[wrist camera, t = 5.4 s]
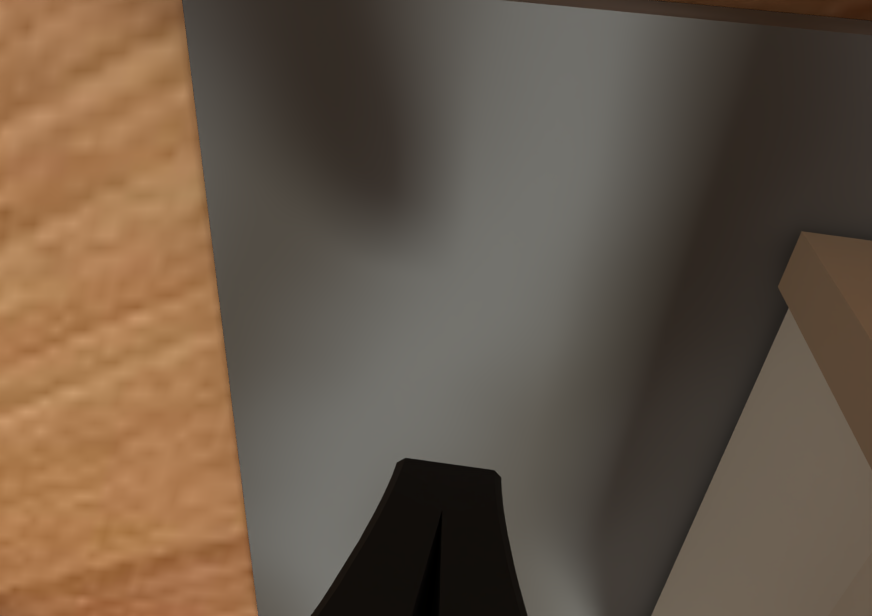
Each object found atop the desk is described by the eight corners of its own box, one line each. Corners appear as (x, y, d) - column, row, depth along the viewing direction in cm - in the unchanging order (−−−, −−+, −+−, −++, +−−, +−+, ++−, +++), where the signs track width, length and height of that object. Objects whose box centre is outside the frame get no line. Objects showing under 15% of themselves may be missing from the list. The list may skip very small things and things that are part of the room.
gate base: (1177, 49, 10) (2019, 352, 4) (764, 708, 20) (854, 1060, 15) (205, -43, 11) (-163, 111, 5) (275, 635, 21) (176, 941, 15)
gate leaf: (702, 652, 17) (760, 947, 13) (626, 640, 17) (657, 928, 13) (923, 247, 11) (1191, 545, 6) (802, 230, 11) (982, 514, 6)
